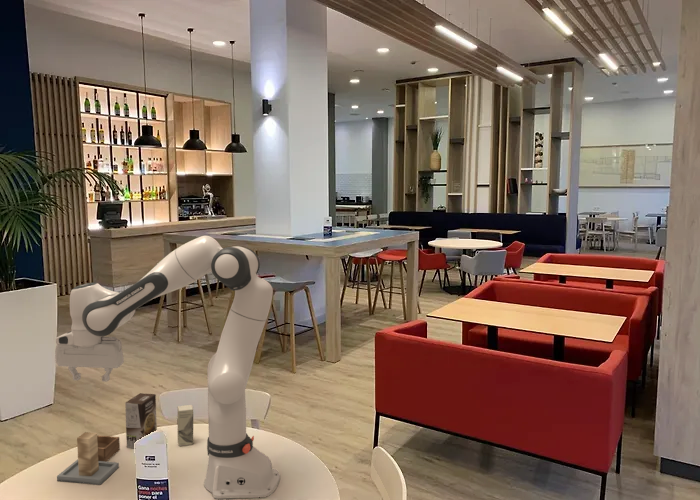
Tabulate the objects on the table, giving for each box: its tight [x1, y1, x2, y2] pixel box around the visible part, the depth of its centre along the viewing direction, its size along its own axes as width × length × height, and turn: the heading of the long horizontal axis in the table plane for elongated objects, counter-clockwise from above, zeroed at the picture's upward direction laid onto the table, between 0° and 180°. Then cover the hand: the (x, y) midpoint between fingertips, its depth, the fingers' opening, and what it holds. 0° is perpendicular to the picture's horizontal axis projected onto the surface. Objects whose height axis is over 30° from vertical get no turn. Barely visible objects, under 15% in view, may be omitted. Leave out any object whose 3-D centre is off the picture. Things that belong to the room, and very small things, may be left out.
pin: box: [76, 431, 99, 476], centre depth 164 cm, size 4×4×12 cm
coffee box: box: [124, 392, 158, 449], centre depth 185 cm, size 9×6×16 cm
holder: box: [97, 434, 121, 462], centre depth 177 cm, size 8×8×4 cm
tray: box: [56, 458, 120, 486], centre depth 165 cm, size 14×10×2 cm
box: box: [176, 404, 194, 447], centre depth 185 cm, size 5×4×13 cm
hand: (91, 380), depth 163 cm, fingers open, 8 cm apart
